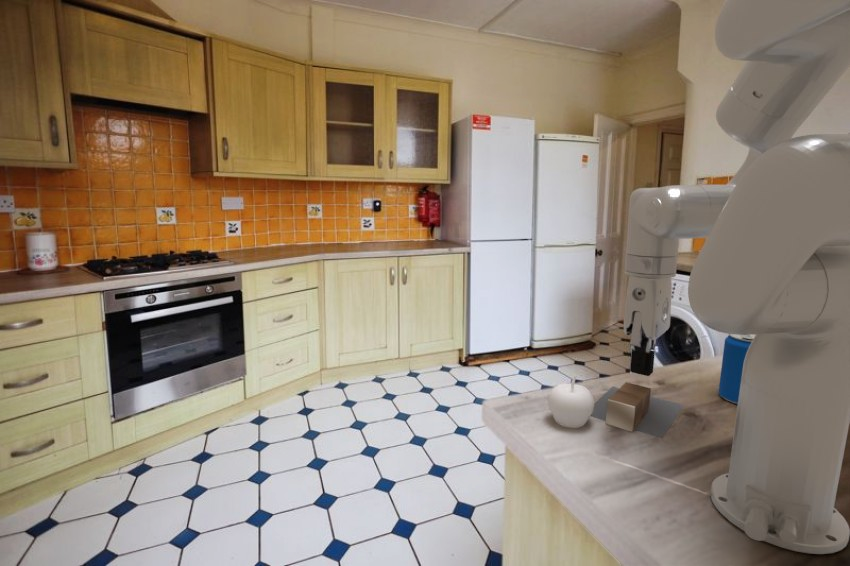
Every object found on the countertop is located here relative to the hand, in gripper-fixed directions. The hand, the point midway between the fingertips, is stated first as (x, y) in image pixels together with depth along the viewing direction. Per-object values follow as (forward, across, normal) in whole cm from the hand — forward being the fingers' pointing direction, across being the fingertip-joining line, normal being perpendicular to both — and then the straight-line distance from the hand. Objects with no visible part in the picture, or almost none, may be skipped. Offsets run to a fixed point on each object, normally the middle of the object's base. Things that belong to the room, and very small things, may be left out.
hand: (641, 372), depth 77 cm
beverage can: (+7, +14, -13) cm, 20 cm away
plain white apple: (+7, -12, +7) cm, 16 cm away
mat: (+6, -2, 0) cm, 7 cm away
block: (+4, -1, 0) cm, 4 cm away
